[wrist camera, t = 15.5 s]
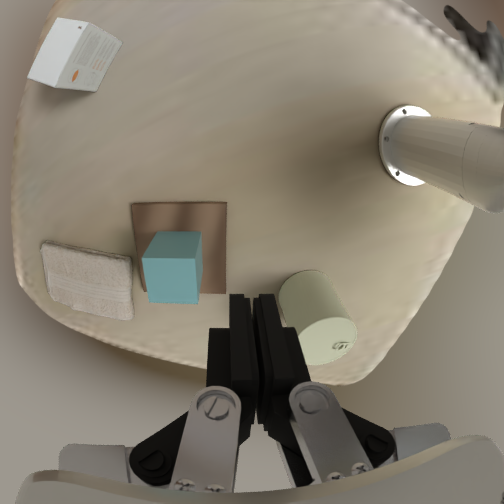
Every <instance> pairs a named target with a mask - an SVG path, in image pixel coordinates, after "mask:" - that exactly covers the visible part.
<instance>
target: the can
mask: <svg viewBox="0 0 504 504" xmlns="http://www.w3.org/2000/svg"><path fill="white" fill-rule="evenodd" d="M279 304H280V306H281V308H282V311H283V314H284V318H285V321H286V325H287V327H295V329H296V331H297V335H298V338H299V341H300V345H301V348H302V351H303V355H304V358H305V362H306V364H307V365H322V364H327V363H330V362H332V361H335V360H337V359H339V358H340V357H342V356H343V355H345V354H346V353H347V352H348V351H349V350H350V349H351V348H352V346H353V345H354V343H355V341H356V338H357V328H356V325H355V324H354V323H353V321H352V320H351V318H350V316H349V314H348V313H347V311H346V309H345V307H344V306H343V304H342V302H341V300H340V298H339V297H338V295H337V293H336V291H335V289H334V288H333V285H332V282H331V280H330V279H329V278H328V277H327V276H326V275H325V274H323V273H321V272H319V271H314V270H307V271H302V272H299V273H297V274H295V275H293V276H291V277H290V278H289V279H287V280H286V281H285V283H284V284H283V285H282V287H281V289H280V292H279Z"/></svg>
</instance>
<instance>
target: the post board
mask: <svg viewBox="0 0 504 504" xmlns="http://www.w3.org/2000/svg"><path fill="white" fill-rule="evenodd" d="M132 214H133V224H134V232H135V240H136V247H137V254H138V261H139V267H140V273H141V279H142V284H143V290H144V292H147V287H146V282H145V276H144V270H143V263H142V257H143V255H144V253H145V251H146V250H147V248H148V246H149V245H150V243H151V241H152V239H153V238H154V236H155V234H156V233H157V231H194V232H201V234H202V264H203V273H202V280H201V287H200V293H213V294H226V215H227V202H149V203H133V204H132Z"/></svg>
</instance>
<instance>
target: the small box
mask: <svg viewBox="0 0 504 504" xmlns="http://www.w3.org/2000/svg"><path fill="white" fill-rule="evenodd" d="M122 44H123V42H122V41H120V40H119V39H117V38H115V37H114V36H112V35H110V34H109V33H107V32H105V31H104V30H102V29H101V28H99V27H97V26H95V25H94V24H92V23H90V22H85V21H79V20H72V19H66V18H57V19H56V21H55V22H54V24H53V26H52V28H51V29H50V31H49V33H48V35H47V37H46V38H45V40H44V42H43V44H42V46H41V48H40V50H39V52H38V54H37V56H36V58H35V61H34V63H33V65H32V67H31V70H30V72H29V74H28V76H27V78H28V79H31V80H34V81H36V82H39V83H42V84H45V85H48V86H51V87H54V88H63V89H74V90H83V91H92V92H96V91H97V89H98V87H99V85H100V83H101V81H102V79H103V77H104V75H105V73H106V71H107V70H108V68H109V66H110V64H111V62H112V60H113V59H114V57H115V55H116V53H117V52H118V50H119V48H120V47H121V45H122Z"/></svg>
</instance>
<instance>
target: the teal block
mask: <svg viewBox="0 0 504 504" xmlns="http://www.w3.org/2000/svg"><path fill="white" fill-rule="evenodd" d="M142 263H143V270H144V276H145V282H146V287H147V293H148V298H149V302H153V303H180V304H198V301H199V294H200V287H201V280H202V273H203V264H202V234H201V232H194V231H157V233H156V234H155V236H154V238H153V239H152V241H151V243H150V245H149V246H148V248H147V250H146V251H145V253H144V255H143V257H142Z"/></svg>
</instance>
